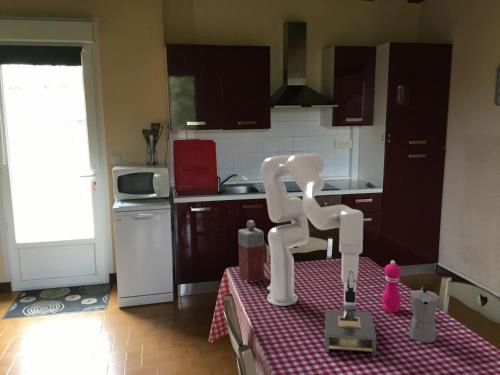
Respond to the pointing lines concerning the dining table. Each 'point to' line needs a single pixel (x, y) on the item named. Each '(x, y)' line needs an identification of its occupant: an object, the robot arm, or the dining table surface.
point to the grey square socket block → (349, 332)
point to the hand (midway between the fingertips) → (349, 298)
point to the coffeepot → (423, 315)
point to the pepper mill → (392, 288)
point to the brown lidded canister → (251, 253)
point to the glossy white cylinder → (349, 307)
